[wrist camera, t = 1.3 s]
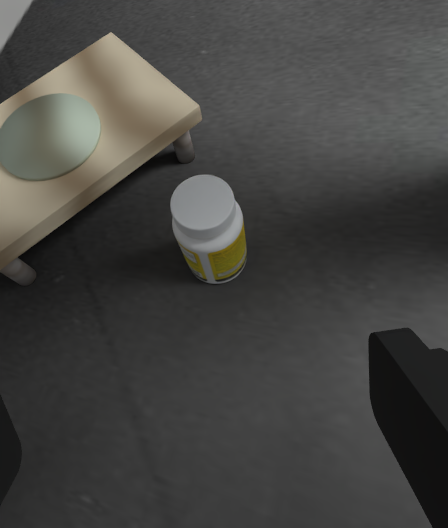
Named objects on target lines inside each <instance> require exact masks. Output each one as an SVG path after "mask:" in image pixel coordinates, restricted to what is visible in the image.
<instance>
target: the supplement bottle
mask: <svg viewBox="0 0 448 528" xmlns="http://www.w3.org/2000/svg"><path fill="white" fill-rule="evenodd" d="M170 208H171V213H172V216H173V218H172V228H173V232H174V235H175V238H176V240H177V242H178V244H179V246H180V248H181V250H182V253H183V255H184V257H185V259H186V261H187V263H188V266H189V268H190V270H191V271H192V273H193V274H194V275H195V276H196V277H197V278H199V279H200V280H202V281H204V282H207V283H212V284H220V283H225V282H228V281H230V280H232V279H234V278H235V277H237V276H238V275H239V274H240V273H241V271H242V270H243V268H244V266H245V263H246V260H247V248H246V239H245V231H244V222H243V215H242V211H241V209H240V206H239V205H238V203H237V202H236V201H235V199H234V195H233V192H232V190H231V188H230V186H229V185H228V184H227V183H226V182H225V181H224V180H222V179H220V178H219V177H216V176H212V175H197V176H193V177H191V178H188V179H187V180H185V181H183V182H182V183H181V184H180V185H179V186H178V187H177V188H176V189H175V191H174V193H173V195H172V197H171V202H170Z"/></svg>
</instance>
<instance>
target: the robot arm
mask: <svg viewBox="0 0 448 528" xmlns="http://www.w3.org/2000/svg"><path fill="white" fill-rule="evenodd" d="M369 386H370V400H371V405H372V409H373V413H374V416H375V419H376V421H377V423H378V425H379V427H380V429H381V431H382V433H383V435H384V437H385V439H386V441H387V442H388V444H389V446H390V448H391V450H392V452H393V454H394V456H395V457H396V459H397V461H398V463H399V465H400V467H401V469H402V471H403V473H404V474H405V476H406V478H407V480H408V482H409V484H410V486H411V488H412V489H413V491H414V493H415V495H416V497H417V499H418V501H419V503H420V505H421V506H422V508H423V510H424V512H425V514H426V516H427V518H428V520H429V521H430V523H431V525H432V527H433V528H448V352H447V351H445V350H444V349H442V348H438V349H431V350H430V349H429V348H428V347H427V346H426V345H425V344H424V343H423V342H422V341H421V340H420V338H419V337H418V336H417V335H416V334H415V333H414V332H413V331H412V330H411V329H409V328H401V329H394V330H387V331H380V332H373V333H371V334H370V336H369ZM21 456H22V450H21V443H20V440H19V438H18V435H17V433H16V431H15V428H14V426H13V423H12V421H11V419H10V416H9V414H8V412H7V409H6V407H5V405H4V402H3V400H2V397H1V395H0V505H1V503H2V501H3V499H4V497H5V495H6V494H7V492H8V490H9V488H10V486H11V484H12V482H13V480H14V479H15V477H16V475H17V473H18V470H19V467H20V463H21Z"/></svg>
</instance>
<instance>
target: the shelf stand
mask: <svg viewBox="0 0 448 528" xmlns="http://www.w3.org/2000/svg"><path fill="white" fill-rule="evenodd" d="M200 121H202V116H201V110H200V106H199V105H198V104H197V103H196V102H194V101H193V100H192V99H191V98H190V97H188V96H187V95H186V94H185V93H184V92H182V91H181V90H180V89H179V88H178V87H176V86H175V85H174V84H173V83H172V82H170V81H169V80H168V79H167V78H166V77H164V76H163V75H162V74H161V73H160V72H158V71H157V70H156V69H155V68H154V67H152V66H151V65H150V64H149V63H148V62H146V61H145V60H144V59H143V58H142V57H140V56H139V55H138V54H137V53H136V52H134V51H133V50H132V49H131V48H130V47H128V46H127V45H126V44H125V43H124V42H122V41H121V40H120V39H119V38H118V37H116V36H115V35H114V34H113V33H112V32H111V33H109V34H108V35H106V36H104V37H103V38H101V39H100V40H98V41H97V42H95V43H94V44H92V45H91V46H89V47H87V48H86V49H84V50H83V51H81V52H80V53H78V54H77V55H75V56H74V57H72V58H71V59H69V60H67V61H66V62H64V63H63V64H61V65H60V66H58V67H57V68H55V69H54V70H52V71H50V72H49V73H47V74H46V75H44V76H43V77H41V78H40V79H38V80H37V81H35V82H34V83H32V84H30V85H29V86H27V87H26V88H24V89H23V90H21V91H20V92H18V93H17V94H15V95H13V96H12V97H10V98H9V99H7V100H6V101H4V102H3V103H1V104H0V272H1V273H2V274H4V275H6V276H7V277H9V278H10V279H12V280H13V281H15V282H17V283H18V284H20V285H22V286H28V285H30V284H32V283H33V282H34V280H35V279H36V271H35V270H34V269H33V268H31V267H30V266H29V265H27V264H26V263H24V262H23V261H22V260H20V259H19V258H18V256H20V255H21V254H23V253H24V252H25V251H27V250H28V249H29V248H31V247H32V246H33V245H35V244H36V243H37V242H39V241H40V240H41V239H43V238H44V237H45V236H47V235H48V234H49V233H51V232H52V231H53V230H55V229H56V228H58V227H59V226H60V225H62V224H63V223H64V222H66V221H67V220H68V219H70V218H71V217H72V216H74V215H75V214H76V213H78V212H79V211H80V210H82V209H83V208H84V207H86V206H87V205H88V204H90V203H91V202H93V201H94V200H95V199H97V198H98V197H99V196H101V195H102V194H103V193H105V192H106V191H107V190H109V189H110V188H111V187H113V186H114V185H115V184H117V183H118V182H119V181H121V180H122V179H123V178H125V177H126V176H128V175H129V174H130V173H132V172H133V171H134V170H136V169H137V168H138V167H140V166H141V165H142V164H144V163H145V162H146V161H148V160H149V159H150V158H152V157H153V156H154V155H156V154H157V153H159V152H160V151H161V150H163V149H164V148H165V147H167V146H168V145H169V144H171V143H172V142H173V146H174V149H175V152H176V155H177V158H178V160H179V161H180V162H181V163H189V162H191V161H192V160H193V159H194V157H195V153H194V149H193V145H192V141H191V137H190V133H189V129H191V128H192V127H194V126H195V125H196V124H198V123H199V122H200Z"/></svg>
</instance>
